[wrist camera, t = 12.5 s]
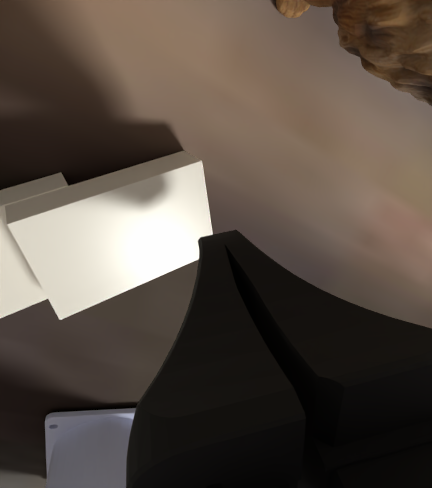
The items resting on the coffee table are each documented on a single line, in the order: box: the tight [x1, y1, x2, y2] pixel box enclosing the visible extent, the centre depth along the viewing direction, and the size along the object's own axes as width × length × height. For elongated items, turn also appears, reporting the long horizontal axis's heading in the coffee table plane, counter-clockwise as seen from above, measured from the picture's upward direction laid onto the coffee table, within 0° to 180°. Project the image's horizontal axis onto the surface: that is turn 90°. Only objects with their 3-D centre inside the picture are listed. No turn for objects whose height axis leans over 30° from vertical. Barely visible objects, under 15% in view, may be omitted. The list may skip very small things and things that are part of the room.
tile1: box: [5, 151, 213, 320], centre depth 14 cm, size 2×4×7 cm
